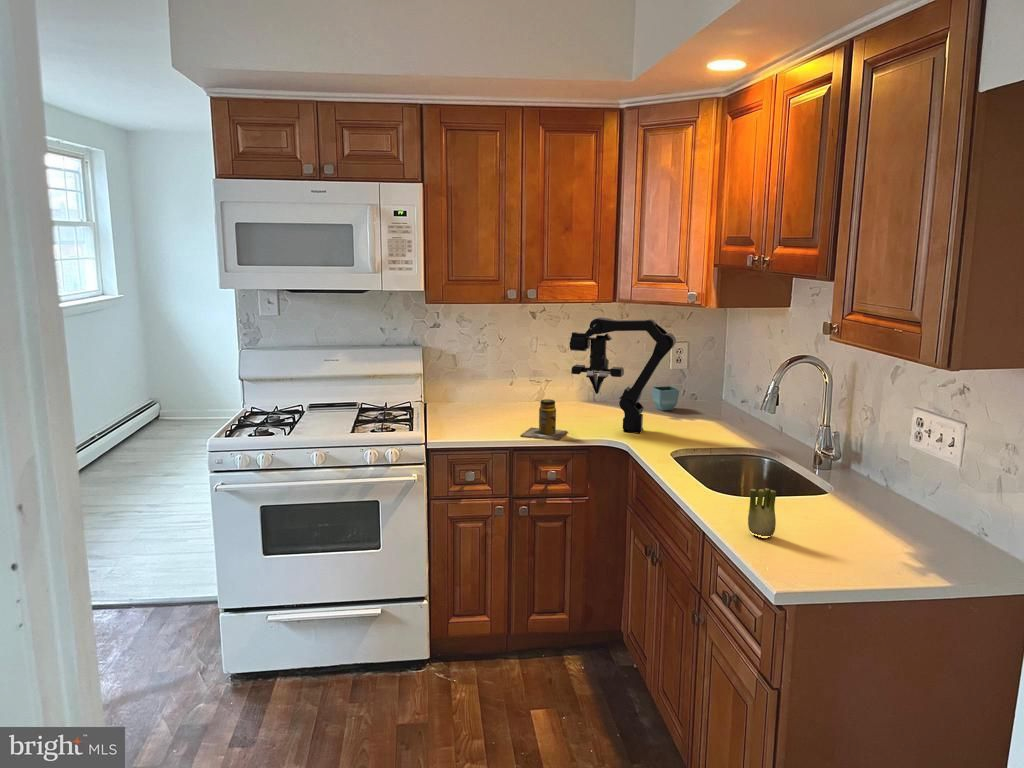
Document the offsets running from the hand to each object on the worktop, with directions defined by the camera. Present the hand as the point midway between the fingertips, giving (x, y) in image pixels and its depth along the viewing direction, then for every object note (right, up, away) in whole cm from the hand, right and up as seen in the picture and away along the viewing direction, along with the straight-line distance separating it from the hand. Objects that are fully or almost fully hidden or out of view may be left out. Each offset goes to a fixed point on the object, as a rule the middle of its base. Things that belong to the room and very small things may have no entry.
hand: (596, 393), depth 289 cm
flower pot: (+32, -7, +34) cm, 47 cm away
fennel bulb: (+28, -33, -103) cm, 111 cm away
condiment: (-20, -14, -9) cm, 26 cm away
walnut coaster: (-20, -15, -8) cm, 26 cm away
